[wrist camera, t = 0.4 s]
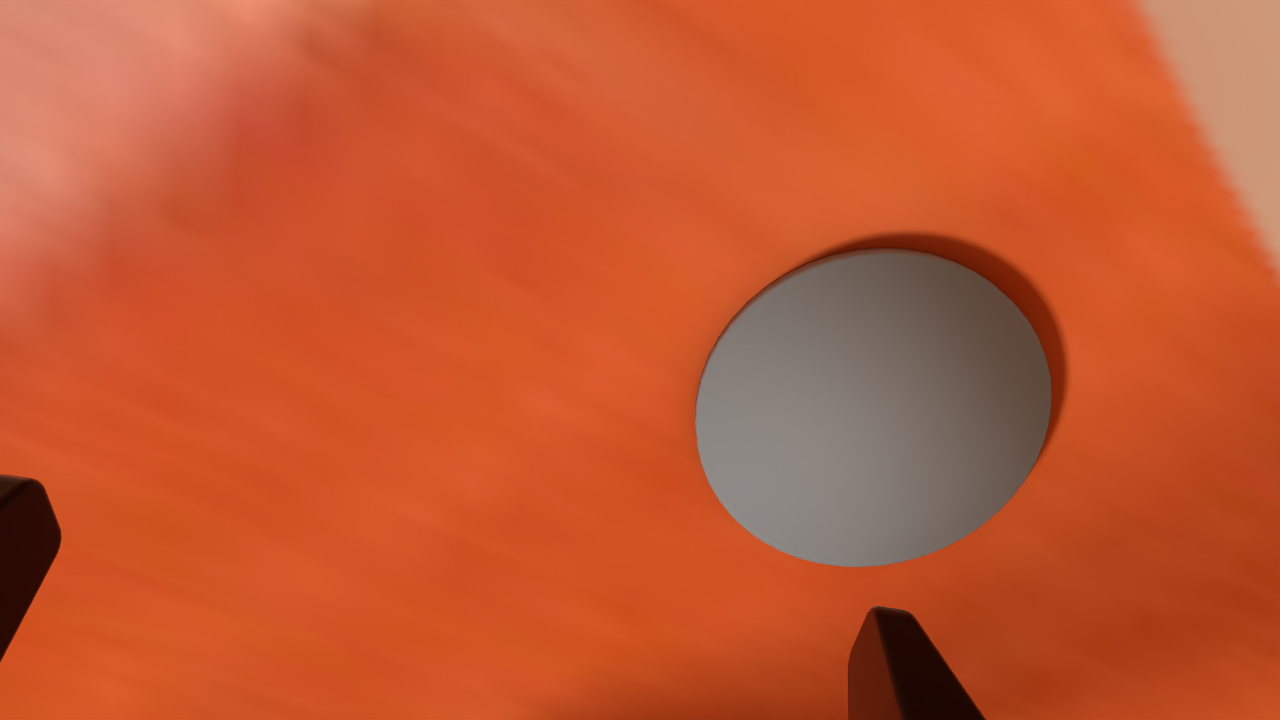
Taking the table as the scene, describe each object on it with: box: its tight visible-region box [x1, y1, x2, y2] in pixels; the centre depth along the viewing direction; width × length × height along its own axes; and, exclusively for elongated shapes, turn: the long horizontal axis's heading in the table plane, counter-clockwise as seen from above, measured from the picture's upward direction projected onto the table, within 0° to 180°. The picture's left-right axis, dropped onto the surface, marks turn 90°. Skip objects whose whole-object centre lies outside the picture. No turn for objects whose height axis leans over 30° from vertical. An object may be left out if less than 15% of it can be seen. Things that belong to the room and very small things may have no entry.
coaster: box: [695, 248, 1052, 567], centre depth 25 cm, size 10×10×1 cm
